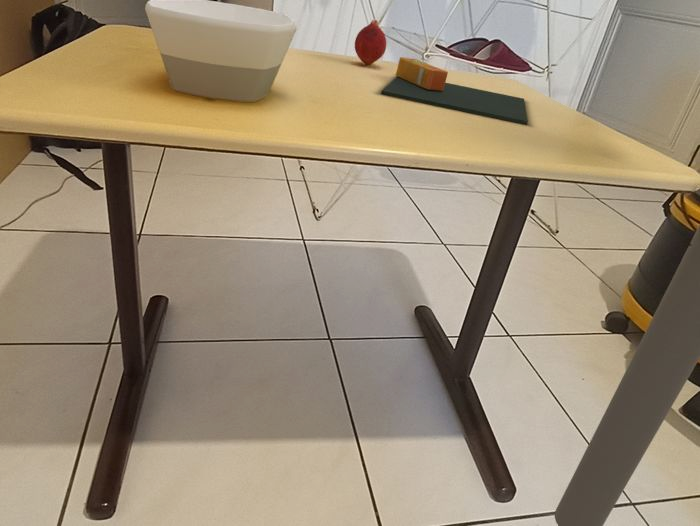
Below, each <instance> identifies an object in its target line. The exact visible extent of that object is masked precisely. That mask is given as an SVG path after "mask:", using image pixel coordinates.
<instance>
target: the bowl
mask: <svg viewBox="0 0 700 526" xmlns="http://www.w3.org/2000/svg"><path fill="white" fill-rule="evenodd" d="M144 10H145V14H146V16H147V20H148V22H149V25H150V28H151V32H152V34H153V37H154V40H155V43H156V46H157V49H158V51H159V54H160V56H161V59H162V60H161V61H162V62H163V63H162V64H163V66H164V69H165V73H166V75H167V78H168V82H169V85H170V88H171V89H172V90H173V91H174V92H178V93H182V94H187V95H189V96H190V95H191V96H195V97H201V98H206V99H211V100H220V101H227V102H228V101H229V102H240V103H255V102H257V101H260V100H262V99H264V98H265V97H266V96H268V95H269V94H270V92H271V89H272V88H273V85H274V83H275V80H276V77H277V76H278V73H279V70H280V69H281V67H282V64H283V62H284V60H285V57H286V55H287V53H288V51H289V48H290V46H291V44H292V41H293V39H294V36H295V34H296V32H297V25H296V22H295V20H294V18H293V17H291V16H290V15H288V14H286V13H282V12H277V11H273V10H268V9H263V8H258V7H252V6H245V5H241V4H236V3H230V2H229V3H227V2H222V1H216V0H215V1H214V0H148V1H147V2H146V3H145V7H144Z"/></svg>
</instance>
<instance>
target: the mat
mask: <svg viewBox="0 0 700 526" xmlns="http://www.w3.org/2000/svg"><path fill="white" fill-rule="evenodd" d="M380 94H381V95H383V96H389V97H394V98H399V99H403V100H408V101H412V102H416V103H421V104H426V105H432V106H435V107H436V106H437V107H441V108H445V109H450V110H455V111H460V112H464V113H469V114H474V115H478V116H484V117H488V118H493V119H498V120H502V121H507V122H512V123H517V124H521V125H526V126H527V125H528V124H529V123H528V122H529V119H528V114H527V107H526V102H525V98H524V97H519V96H515V95H508V94H504V93H498V92H493V91H488V90H484V89H478V88H474V87H470V86H465V85H459V84H454V83H449V82H445V86H444V89H443V91H435V90H427V89H425V88H422V87H420V86H418V85H416V84H413V83H411V82H409V81H407V80H404V79H402V78H400V77H398V76H396V77H395V78H394V79H393V80H391V82H389V83H388V84H387V85H386V86H384V87H383V89H382V90H381V91H380Z"/></svg>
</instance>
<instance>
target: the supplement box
mask: <svg viewBox="0 0 700 526" xmlns="http://www.w3.org/2000/svg"><path fill="white" fill-rule="evenodd" d="M448 73H449V72H448V71H447V70H444V69H441V68H439V67H437V66H434V65H432V64H429V63H427V62H424V61H421V60H419V59H416V58H411V57H401V56H400V57H399V61H398V64H397V68H396V71H395V76H396V77H397V76H398V77H400V78H402V79H404V80H407V81H409V82H411V83H413V84H416V85H418V86H420V87H422V88H425V89H427V90H435V91H443V89H444V86H445V83H447V78H448Z"/></svg>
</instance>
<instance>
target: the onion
mask: <svg viewBox="0 0 700 526" xmlns="http://www.w3.org/2000/svg"><path fill="white" fill-rule="evenodd" d="M378 23H379V21H378V20H377V19H372V20H371V22H370V23H369V24H368V25H366V26H364V27H362V29H360V30H359V32H358V33H357V34H356V37H355V39H354V51H355V54H356V55H357V57H358V58H359V60H360V61H361V62H362V63H363V64H364V65H365V66H368V67H369V66H371V65H372V64H374V63H376V62H377V61H379V60H380V59H381V58H382V57H383V55H385V52H386V49H387V39H386V35H385V33H384V31H383V30H382V29H381V28H380V27H379V26H378Z"/></svg>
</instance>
